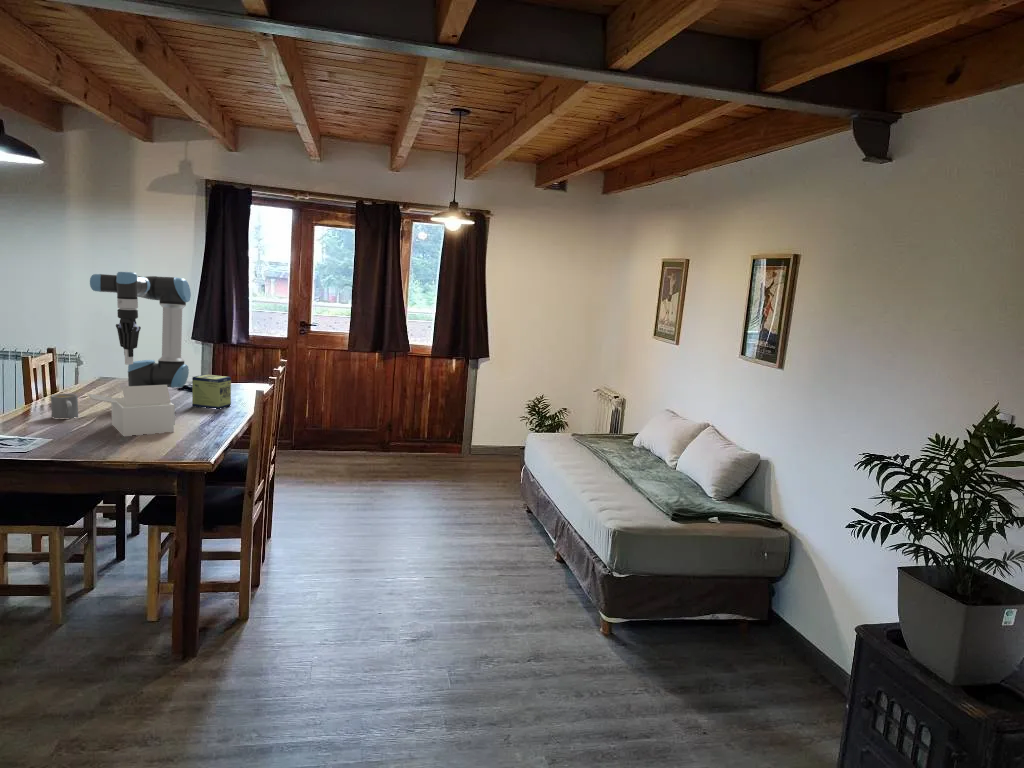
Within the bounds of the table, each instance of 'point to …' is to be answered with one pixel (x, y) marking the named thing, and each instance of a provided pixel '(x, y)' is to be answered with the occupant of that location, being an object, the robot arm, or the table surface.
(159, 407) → the carton
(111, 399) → the side flap
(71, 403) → the coffee mug
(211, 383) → the protein box
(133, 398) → the front flap
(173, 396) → the table surface
